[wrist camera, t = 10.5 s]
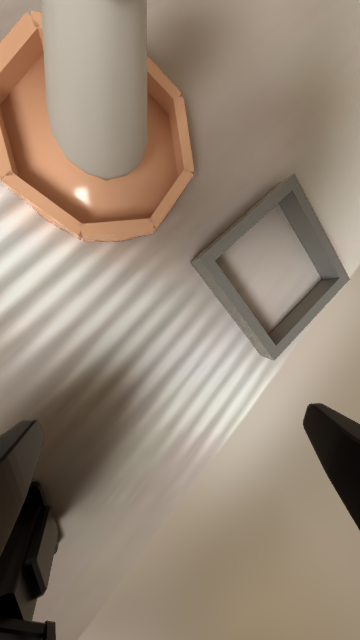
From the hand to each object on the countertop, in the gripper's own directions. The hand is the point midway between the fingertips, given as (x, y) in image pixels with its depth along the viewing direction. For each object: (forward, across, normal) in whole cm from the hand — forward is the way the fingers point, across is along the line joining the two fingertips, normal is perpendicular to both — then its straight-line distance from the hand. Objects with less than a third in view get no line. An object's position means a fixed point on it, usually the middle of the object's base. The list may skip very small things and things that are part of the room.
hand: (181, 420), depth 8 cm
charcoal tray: (+16, -10, -2) cm, 19 cm away
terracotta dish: (+15, +5, -11) cm, 19 cm away
